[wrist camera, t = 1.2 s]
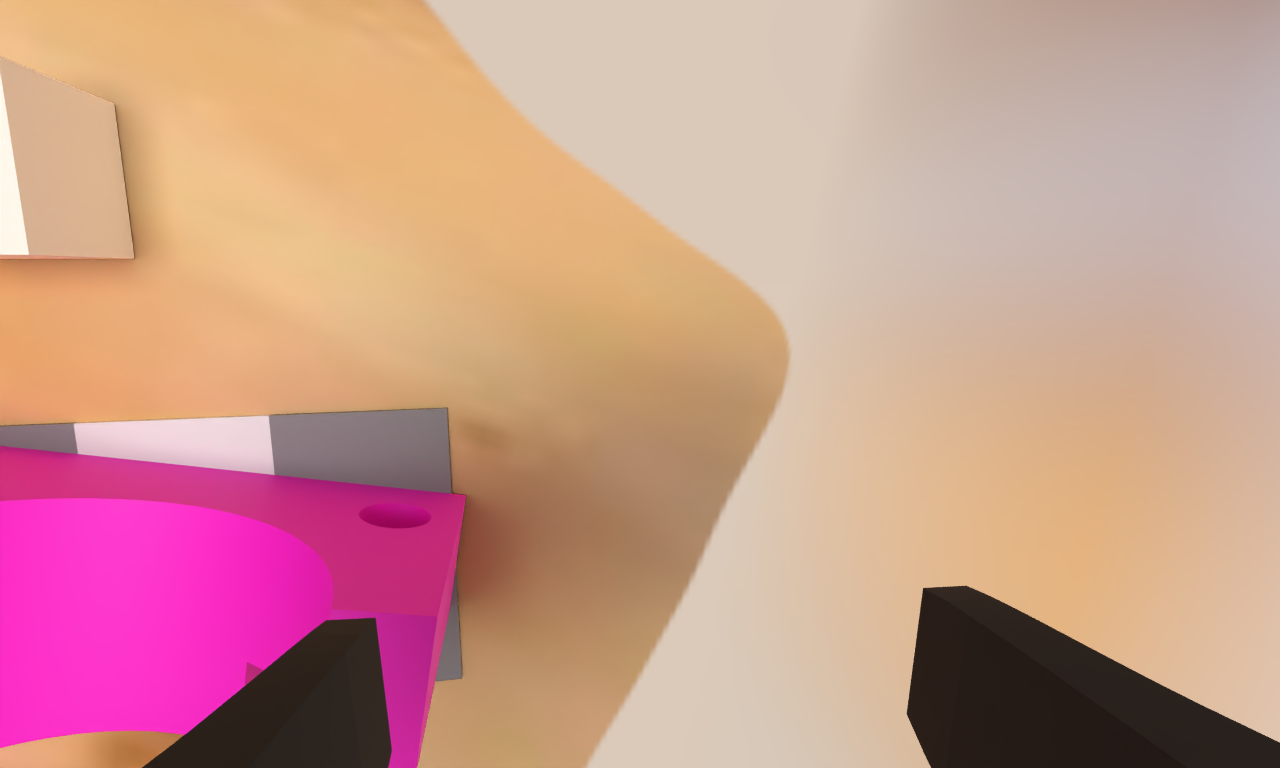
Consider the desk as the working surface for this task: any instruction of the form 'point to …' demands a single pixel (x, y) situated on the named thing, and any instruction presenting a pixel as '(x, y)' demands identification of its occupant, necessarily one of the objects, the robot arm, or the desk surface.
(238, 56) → the desk surface
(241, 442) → the board
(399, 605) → the toy block
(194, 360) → the desk surface
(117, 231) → the die
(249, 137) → the desk surface
